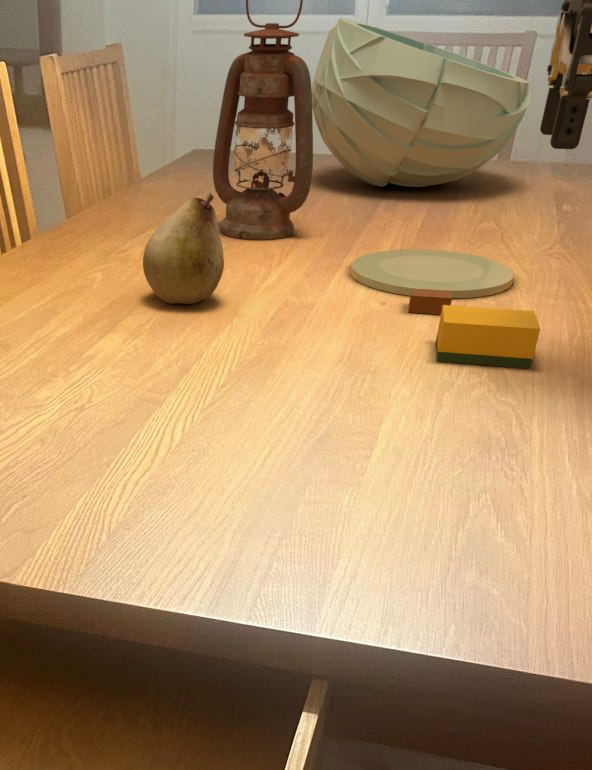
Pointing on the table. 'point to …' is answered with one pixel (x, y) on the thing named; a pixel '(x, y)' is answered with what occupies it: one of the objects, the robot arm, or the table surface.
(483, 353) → the sponge
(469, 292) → the plate
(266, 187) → the lantern
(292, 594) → the table surface
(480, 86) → the bowl
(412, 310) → the brown rectangular block
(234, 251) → the table surface
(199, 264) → the fruit
